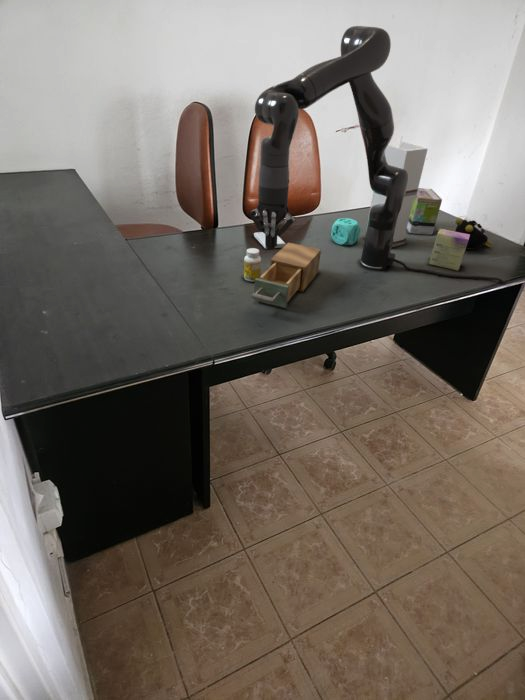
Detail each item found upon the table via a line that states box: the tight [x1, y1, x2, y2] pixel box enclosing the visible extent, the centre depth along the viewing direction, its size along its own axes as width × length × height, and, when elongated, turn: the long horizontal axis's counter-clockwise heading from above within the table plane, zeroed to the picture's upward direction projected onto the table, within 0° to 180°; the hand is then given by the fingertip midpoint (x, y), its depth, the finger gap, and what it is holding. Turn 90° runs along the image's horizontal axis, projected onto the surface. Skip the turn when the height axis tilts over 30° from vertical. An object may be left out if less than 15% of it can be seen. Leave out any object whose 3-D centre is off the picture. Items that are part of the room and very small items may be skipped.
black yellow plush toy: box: [454, 217, 493, 250], centre depth 181 cm, size 12×15×15 cm
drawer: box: [251, 263, 302, 309], centre depth 140 cm, size 20×10×7 cm, turn 156°
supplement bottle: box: [243, 247, 262, 283], centre depth 151 cm, size 5×5×10 cm
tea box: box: [406, 187, 443, 235], centre depth 195 cm, size 15×10×15 cm, turn 179°
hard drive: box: [253, 231, 287, 250], centre depth 179 cm, size 2×8×12 cm
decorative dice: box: [330, 217, 361, 246], centre depth 181 cm, size 8×8×8 cm
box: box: [428, 228, 470, 272], centre depth 167 cm, size 10×6×12 cm, turn 65°
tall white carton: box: [364, 141, 428, 248], centre depth 176 cm, size 11×11×35 cm
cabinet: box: [269, 242, 322, 293], centre depth 153 cm, size 15×11×8 cm
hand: (271, 248), depth 127 cm, fingers closed
